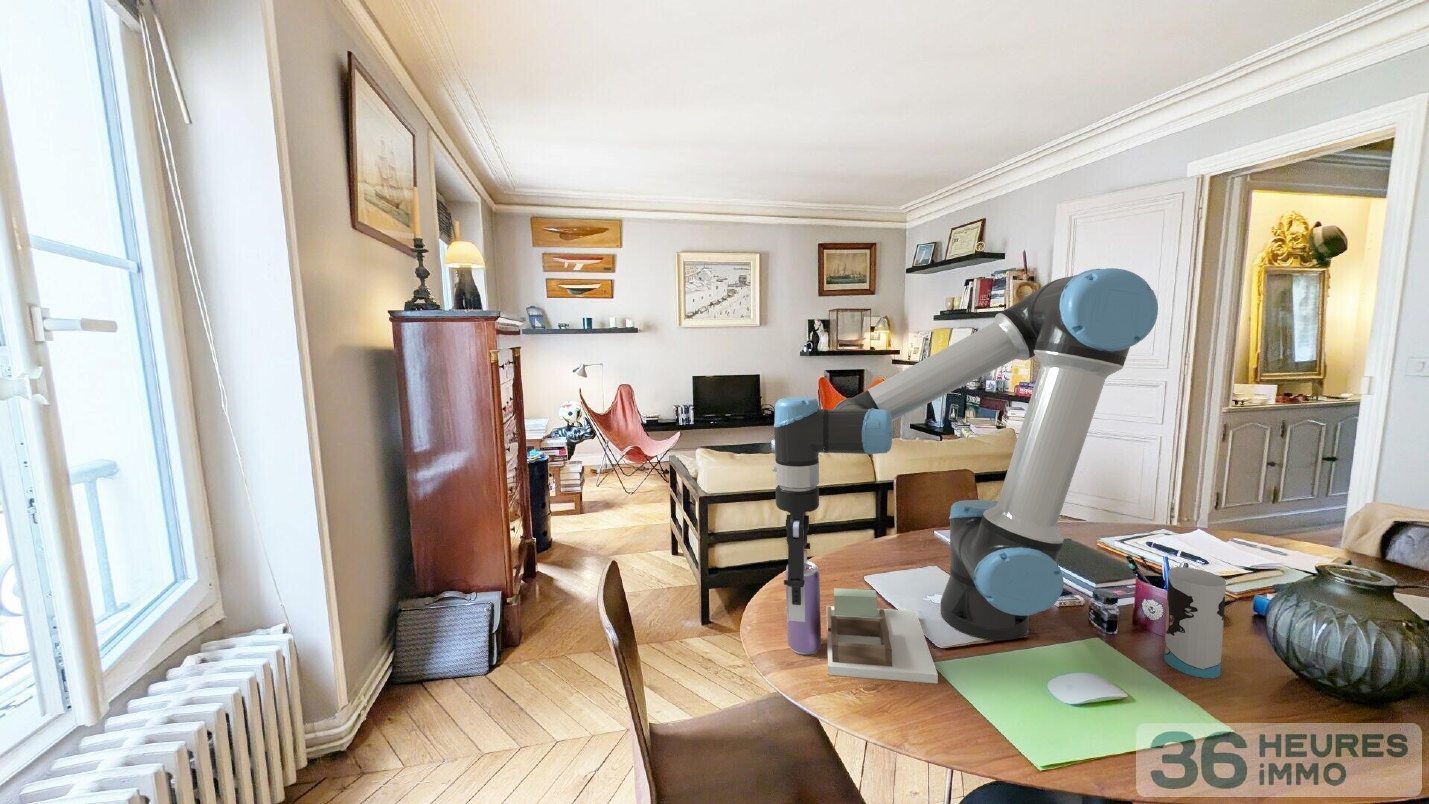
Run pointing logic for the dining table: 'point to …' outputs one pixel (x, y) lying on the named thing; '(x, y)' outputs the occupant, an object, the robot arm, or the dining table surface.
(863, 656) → the socket
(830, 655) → the board
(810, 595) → the beverage can
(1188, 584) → the cup
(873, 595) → the block
